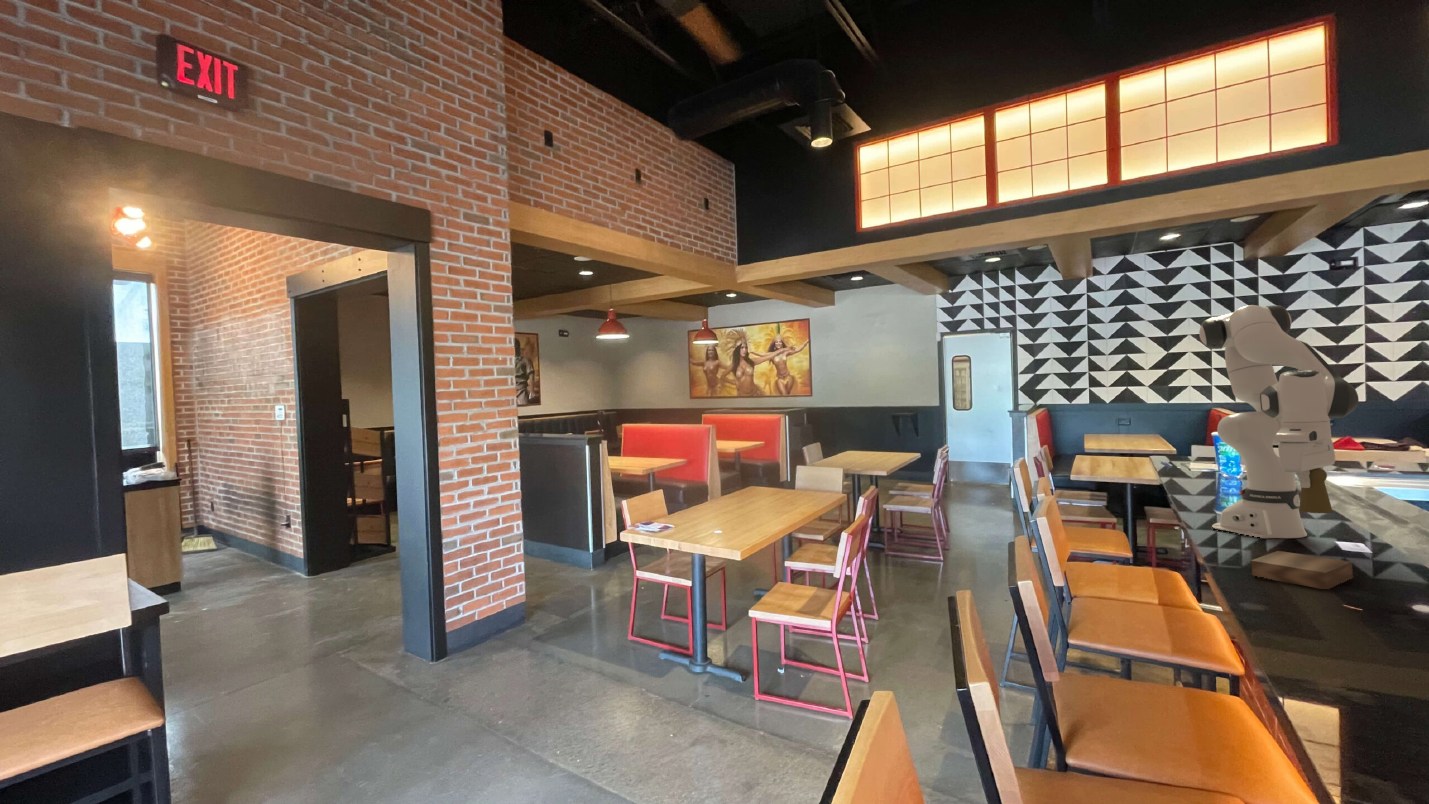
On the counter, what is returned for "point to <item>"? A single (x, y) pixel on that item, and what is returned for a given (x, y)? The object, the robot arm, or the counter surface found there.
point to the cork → (1315, 494)
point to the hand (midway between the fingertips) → (1311, 486)
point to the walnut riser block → (1302, 569)
